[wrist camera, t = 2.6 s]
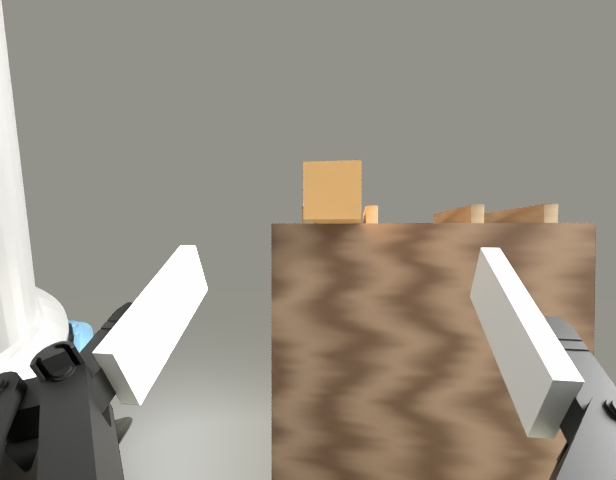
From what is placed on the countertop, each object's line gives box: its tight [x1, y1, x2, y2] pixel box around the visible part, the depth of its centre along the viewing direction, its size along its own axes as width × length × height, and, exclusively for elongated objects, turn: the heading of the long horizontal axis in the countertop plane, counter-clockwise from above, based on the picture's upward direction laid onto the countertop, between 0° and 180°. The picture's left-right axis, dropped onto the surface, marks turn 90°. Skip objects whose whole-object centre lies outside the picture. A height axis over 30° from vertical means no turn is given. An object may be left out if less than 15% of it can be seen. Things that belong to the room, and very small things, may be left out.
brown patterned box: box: [272, 204, 596, 480], centre depth 36 cm, size 26×14×32 cm, turn 82°
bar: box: [303, 160, 361, 224], centre depth 33 cm, size 4×24×4 cm, turn 172°
